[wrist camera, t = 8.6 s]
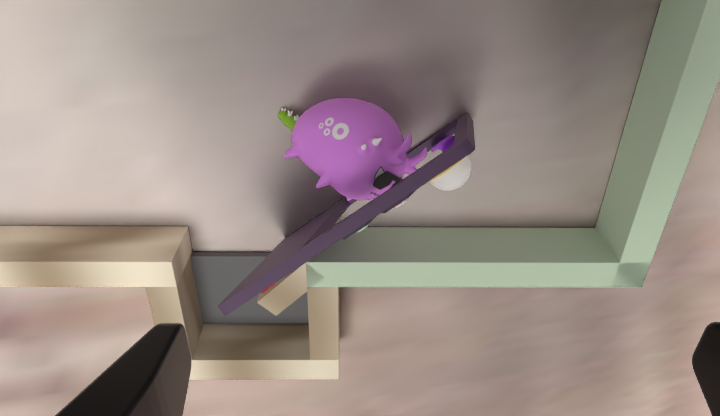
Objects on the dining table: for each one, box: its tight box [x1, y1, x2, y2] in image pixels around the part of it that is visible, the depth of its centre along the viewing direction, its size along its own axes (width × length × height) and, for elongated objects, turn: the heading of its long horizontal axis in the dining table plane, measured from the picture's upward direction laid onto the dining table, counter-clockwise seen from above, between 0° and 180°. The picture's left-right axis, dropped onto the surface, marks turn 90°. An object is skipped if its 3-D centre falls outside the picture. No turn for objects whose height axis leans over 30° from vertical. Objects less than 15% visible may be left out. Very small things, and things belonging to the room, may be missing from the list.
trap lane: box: [0, 226, 340, 380], centre depth 18 cm, size 15×24×2 cm, turn 179°
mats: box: [191, 252, 309, 324], centre depth 19 cm, size 7×24×1 cm, turn 20°
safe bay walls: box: [306, 0, 720, 287], centre depth 18 cm, size 13×13×2 cm
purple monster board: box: [217, 98, 475, 316], centre depth 18 cm, size 7×5×9 cm
